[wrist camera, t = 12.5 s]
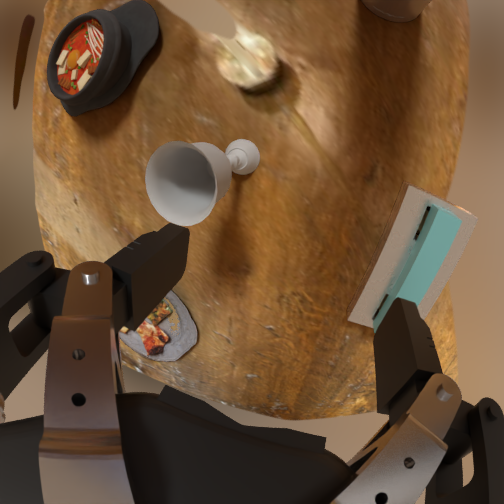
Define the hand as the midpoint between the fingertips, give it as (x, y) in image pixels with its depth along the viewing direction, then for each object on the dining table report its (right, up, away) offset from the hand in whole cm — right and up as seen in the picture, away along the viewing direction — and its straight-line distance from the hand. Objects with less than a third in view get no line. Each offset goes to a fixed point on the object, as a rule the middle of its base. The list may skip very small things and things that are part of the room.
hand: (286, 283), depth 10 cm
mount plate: (+22, -1, +28) cm, 36 cm away
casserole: (-26, +34, +26) cm, 50 cm away
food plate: (-24, -12, +47) cm, 54 cm away
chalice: (-3, +14, +28) cm, 32 cm away
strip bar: (+22, -1, +28) cm, 35 cm away
